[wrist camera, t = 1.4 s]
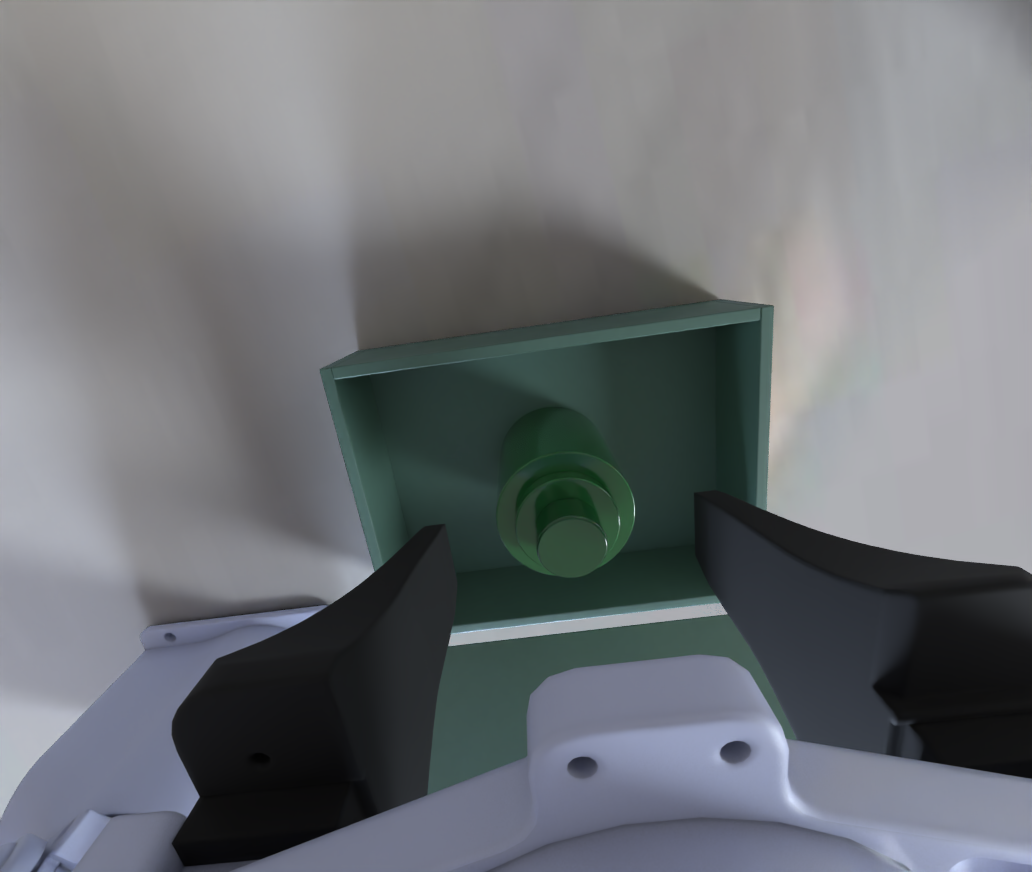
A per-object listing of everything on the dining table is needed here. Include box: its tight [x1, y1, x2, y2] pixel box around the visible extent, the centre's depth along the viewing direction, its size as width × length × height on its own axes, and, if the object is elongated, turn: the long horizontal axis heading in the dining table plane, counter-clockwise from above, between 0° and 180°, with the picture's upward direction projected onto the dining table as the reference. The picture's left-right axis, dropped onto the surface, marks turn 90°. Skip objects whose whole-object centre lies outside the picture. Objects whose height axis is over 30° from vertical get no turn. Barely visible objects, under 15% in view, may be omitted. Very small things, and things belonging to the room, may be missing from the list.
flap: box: [427, 614, 797, 795], centre depth 16 cm, size 5×14×1 cm
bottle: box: [496, 407, 635, 578], centre depth 16 cm, size 4×4×7 cm
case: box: [320, 299, 774, 634], centre depth 18 cm, size 11×14×4 cm
